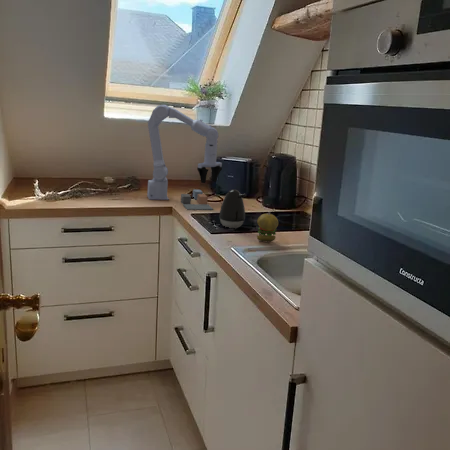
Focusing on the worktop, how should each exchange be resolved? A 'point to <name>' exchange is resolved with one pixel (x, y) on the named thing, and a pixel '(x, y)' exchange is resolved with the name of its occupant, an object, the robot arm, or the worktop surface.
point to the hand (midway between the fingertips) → (208, 182)
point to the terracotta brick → (202, 199)
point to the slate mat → (197, 206)
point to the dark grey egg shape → (232, 210)
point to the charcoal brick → (185, 199)
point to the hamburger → (267, 227)
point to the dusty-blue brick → (196, 193)
